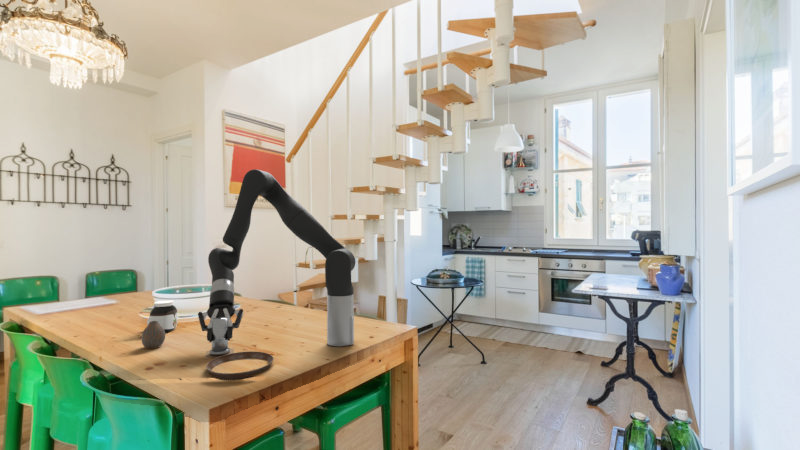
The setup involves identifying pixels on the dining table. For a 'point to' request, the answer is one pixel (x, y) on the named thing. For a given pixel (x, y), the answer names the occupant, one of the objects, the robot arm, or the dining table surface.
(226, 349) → the metal cylinder canister
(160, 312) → the spread jar
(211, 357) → the stand
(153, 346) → the dark brown oval lump
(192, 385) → the dining table surface
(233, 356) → the brown shallow round tray
